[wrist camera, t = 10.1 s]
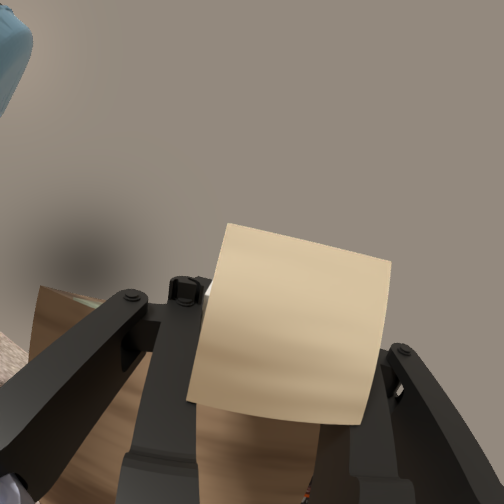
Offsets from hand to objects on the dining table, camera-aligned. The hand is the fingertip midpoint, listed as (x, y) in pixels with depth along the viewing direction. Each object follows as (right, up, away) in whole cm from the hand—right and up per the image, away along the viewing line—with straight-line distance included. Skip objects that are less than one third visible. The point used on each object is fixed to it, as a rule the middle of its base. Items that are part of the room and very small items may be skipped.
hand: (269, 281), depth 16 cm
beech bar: (-1, -6, +4) cm, 7 cm away
